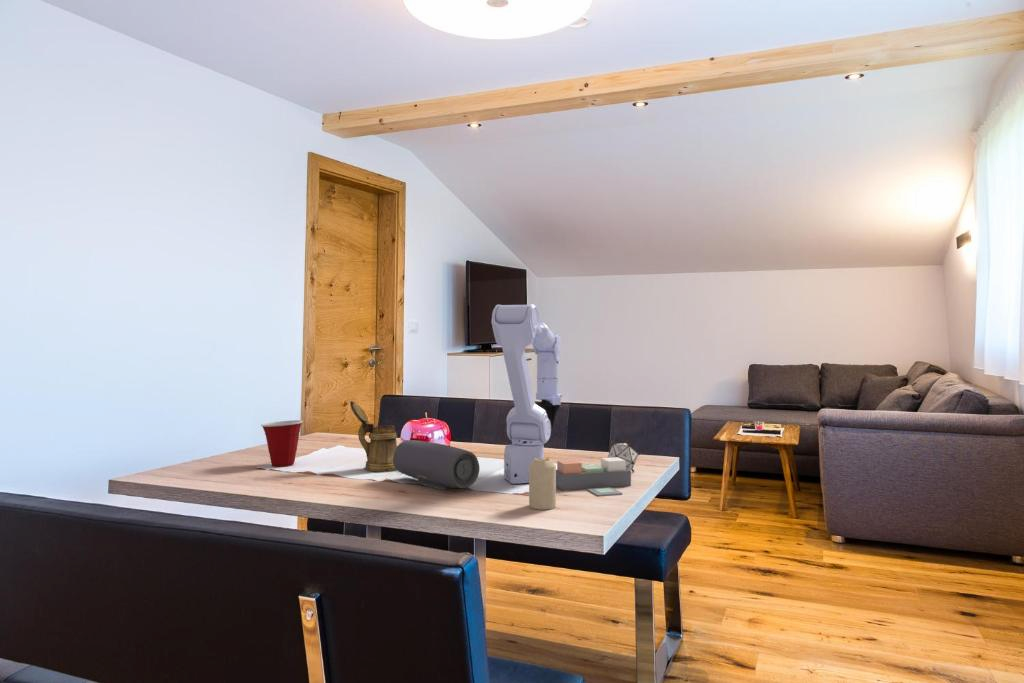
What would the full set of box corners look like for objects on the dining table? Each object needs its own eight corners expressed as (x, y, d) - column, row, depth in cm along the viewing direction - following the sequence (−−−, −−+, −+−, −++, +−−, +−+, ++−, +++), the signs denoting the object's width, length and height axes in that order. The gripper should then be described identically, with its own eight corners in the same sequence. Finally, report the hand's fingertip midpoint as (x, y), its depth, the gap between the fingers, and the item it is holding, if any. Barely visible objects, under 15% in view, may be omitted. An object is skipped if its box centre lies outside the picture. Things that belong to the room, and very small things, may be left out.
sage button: (586, 482, 156) (586, 469, 156) (579, 478, 160) (579, 465, 160) (603, 480, 157) (603, 468, 157) (596, 477, 161) (596, 464, 161)
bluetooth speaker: (481, 490, 154) (481, 446, 154) (450, 497, 147) (450, 451, 147) (421, 475, 170) (421, 436, 170) (391, 481, 164) (391, 440, 163)
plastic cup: (281, 460, 190) (280, 417, 190) (311, 462, 186) (311, 419, 186) (252, 466, 180) (252, 422, 180) (283, 470, 176) (283, 424, 176)
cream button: (608, 474, 157) (608, 461, 157) (600, 470, 162) (601, 458, 162) (625, 473, 159) (625, 460, 159) (617, 469, 163) (617, 457, 163)
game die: (629, 487, 172) (645, 460, 167) (598, 475, 172) (612, 448, 167) (631, 465, 180) (646, 438, 174) (601, 453, 180) (615, 426, 174)
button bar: (561, 490, 153) (561, 475, 153) (552, 484, 159) (552, 469, 159) (630, 485, 158) (630, 470, 158) (619, 480, 164) (619, 465, 164)
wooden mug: (356, 464, 184) (355, 399, 183) (404, 465, 182) (404, 399, 182) (344, 471, 175) (344, 402, 175) (395, 472, 173) (395, 402, 173)
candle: (554, 503, 142) (554, 455, 142) (557, 509, 136) (557, 460, 136) (528, 503, 141) (528, 456, 141) (529, 510, 136) (529, 460, 136)
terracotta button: (563, 477, 154) (563, 464, 154) (557, 473, 158) (557, 460, 158) (581, 475, 155) (581, 463, 155) (574, 472, 160) (574, 459, 160)
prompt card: (597, 496, 148) (597, 494, 148) (587, 490, 153) (587, 488, 153) (622, 494, 149) (622, 492, 149) (611, 488, 155) (611, 486, 155)
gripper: (571, 379, 172) (571, 432, 172) (552, 376, 186) (552, 424, 186) (545, 380, 170) (545, 433, 170) (528, 376, 184) (528, 425, 184)
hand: (547, 429), depth 178 cm, fingers closed
